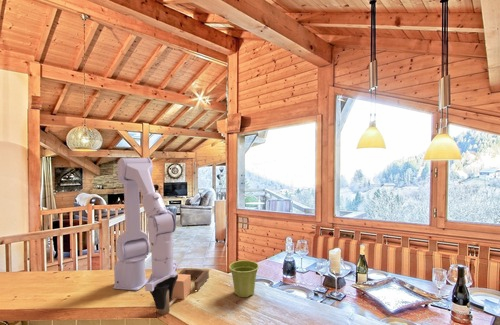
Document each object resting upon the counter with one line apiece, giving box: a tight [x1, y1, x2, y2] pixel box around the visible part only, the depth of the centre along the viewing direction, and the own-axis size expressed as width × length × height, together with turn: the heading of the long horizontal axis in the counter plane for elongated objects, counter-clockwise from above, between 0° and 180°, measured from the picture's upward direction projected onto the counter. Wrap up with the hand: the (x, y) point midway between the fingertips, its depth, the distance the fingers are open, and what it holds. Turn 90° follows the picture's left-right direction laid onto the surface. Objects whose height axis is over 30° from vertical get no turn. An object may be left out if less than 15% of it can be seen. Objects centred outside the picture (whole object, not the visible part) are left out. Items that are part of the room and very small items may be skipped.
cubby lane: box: [177, 267, 210, 291], centre depth 96 cm, size 9×10×3 cm
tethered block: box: [157, 273, 192, 316], centre depth 83 cm, size 5×14×6 cm, turn 168°
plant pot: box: [229, 259, 260, 298], centre depth 88 cm, size 9×9×9 cm
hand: (163, 305), depth 78 cm, fingers open, 3 cm apart
